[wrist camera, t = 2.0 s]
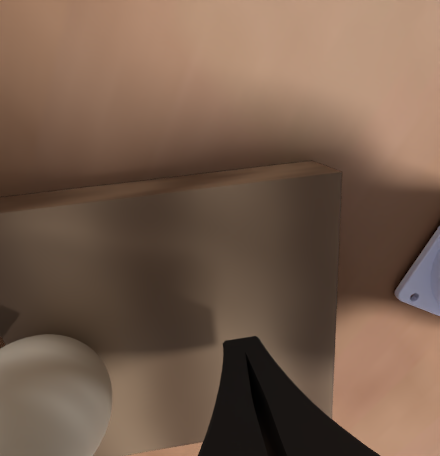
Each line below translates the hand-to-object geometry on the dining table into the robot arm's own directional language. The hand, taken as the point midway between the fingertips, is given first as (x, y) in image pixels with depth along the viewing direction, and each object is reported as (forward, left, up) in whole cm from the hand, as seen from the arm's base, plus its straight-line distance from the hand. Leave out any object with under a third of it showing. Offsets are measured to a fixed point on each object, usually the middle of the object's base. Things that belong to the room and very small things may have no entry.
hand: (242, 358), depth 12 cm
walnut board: (+6, +3, -5) cm, 8 cm away
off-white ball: (+6, +4, +1) cm, 7 cm away
